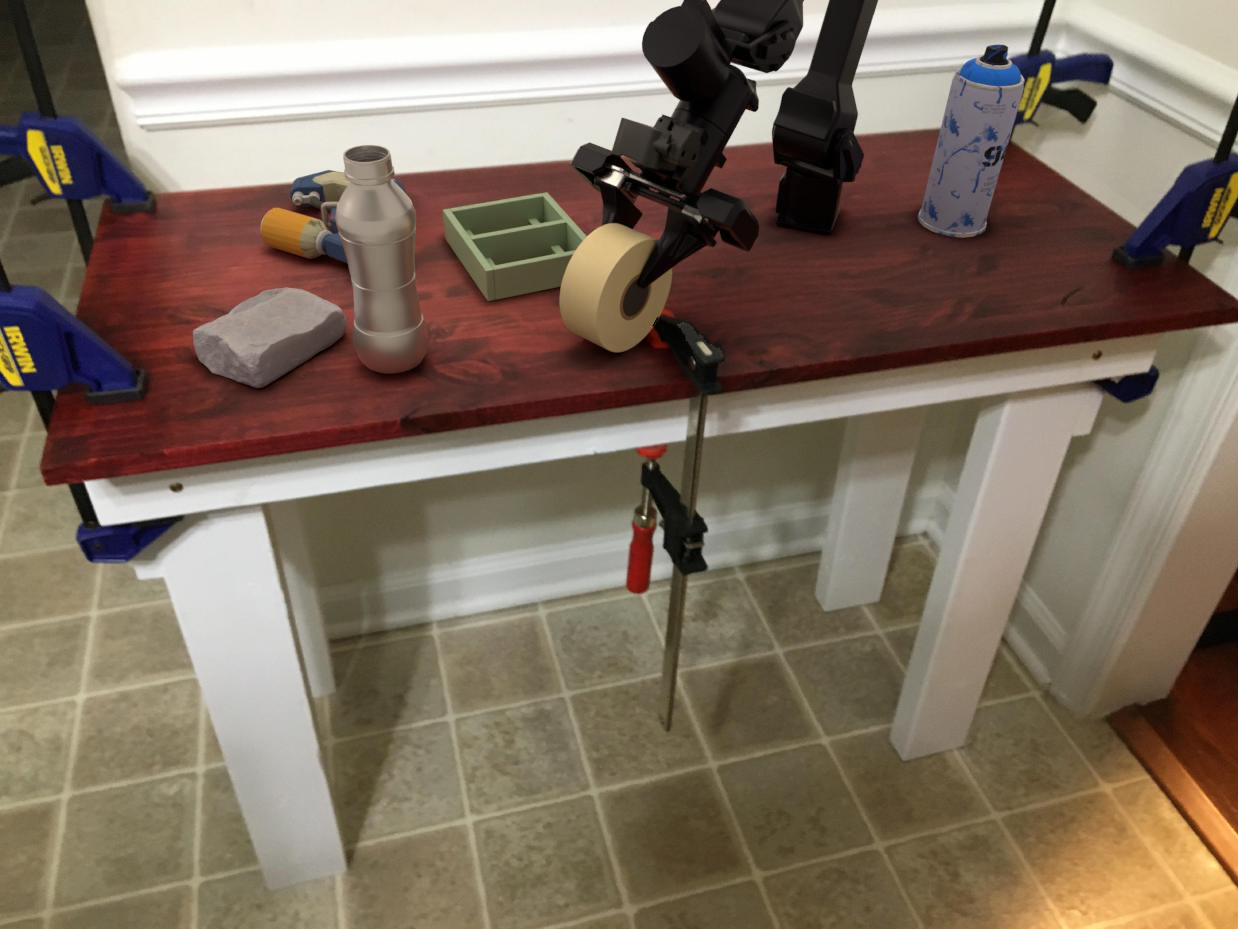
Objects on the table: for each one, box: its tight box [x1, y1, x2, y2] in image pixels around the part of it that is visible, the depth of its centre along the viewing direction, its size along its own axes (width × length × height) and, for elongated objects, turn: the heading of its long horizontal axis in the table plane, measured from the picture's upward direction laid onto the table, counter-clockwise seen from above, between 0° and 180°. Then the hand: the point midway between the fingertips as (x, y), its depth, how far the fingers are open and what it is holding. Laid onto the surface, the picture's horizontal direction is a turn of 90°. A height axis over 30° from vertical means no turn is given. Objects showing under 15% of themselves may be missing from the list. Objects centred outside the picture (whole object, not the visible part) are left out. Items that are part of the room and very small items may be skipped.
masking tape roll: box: [558, 223, 673, 353], centre depth 94 cm, size 11×5×11 cm, turn 140°
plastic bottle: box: [335, 144, 430, 375], centre depth 87 cm, size 6×7×20 cm
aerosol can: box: [917, 44, 1025, 239], centre depth 112 cm, size 8×8×20 cm
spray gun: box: [259, 169, 407, 265], centre depth 111 cm, size 21×4×15 cm
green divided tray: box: [442, 191, 588, 302], centre depth 108 cm, size 12×14×4 cm
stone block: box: [192, 286, 348, 389], centre depth 93 cm, size 12×5×10 cm
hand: (619, 277), depth 93 cm, fingers closed on masking tape roll, 5 cm apart
